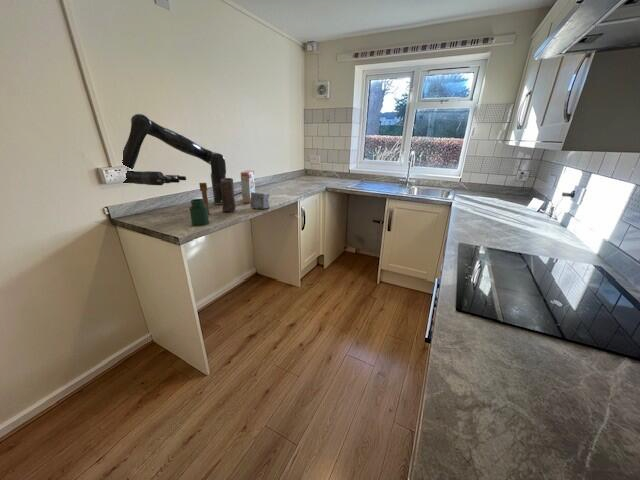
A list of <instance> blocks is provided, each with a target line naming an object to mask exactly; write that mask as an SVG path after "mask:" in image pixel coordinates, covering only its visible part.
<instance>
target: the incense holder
mask: <svg viewBox="0 0 640 480" xmlns="http://www.w3.org/2000/svg"><path fill="white" fill-rule="evenodd" d="M269 199H270V193H268V192H266V193H265V192H259V191H255V192H251V203H250V208H256V209H257V210H260V209H261V210H263V209H269V208H270V204H269Z"/></svg>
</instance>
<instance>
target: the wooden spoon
mask: <svg viewBox="0 0 640 480" xmlns="http://www.w3.org/2000/svg"><path fill="white" fill-rule="evenodd" d="M199 191H200V192H201V197H202V198H201V199H203V200H204V205H206V206H207V211H208V216H210V207H209V200H208V199H209V198H208V192H207V191H208V184H207V182H199Z"/></svg>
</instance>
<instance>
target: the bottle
mask: <svg viewBox="0 0 640 480" xmlns="http://www.w3.org/2000/svg"><path fill="white" fill-rule="evenodd" d="M189 214H190V220H191V225H192V226H197V227H198V226H199V227H201V226H205V225H209V223H210V219H209V215H208V211H207V206H206V205H204V200H203V198H194V199H191V200H190V206H189Z"/></svg>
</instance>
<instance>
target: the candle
mask: <svg viewBox="0 0 640 480" xmlns="http://www.w3.org/2000/svg"><path fill="white" fill-rule="evenodd" d="M220 181H221V193H222V212H226V213H231V212H234V211H236V201H235V195H234V194H235V187H234V179H233V178H231V177H226V178H224V179H221V180H220Z"/></svg>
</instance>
